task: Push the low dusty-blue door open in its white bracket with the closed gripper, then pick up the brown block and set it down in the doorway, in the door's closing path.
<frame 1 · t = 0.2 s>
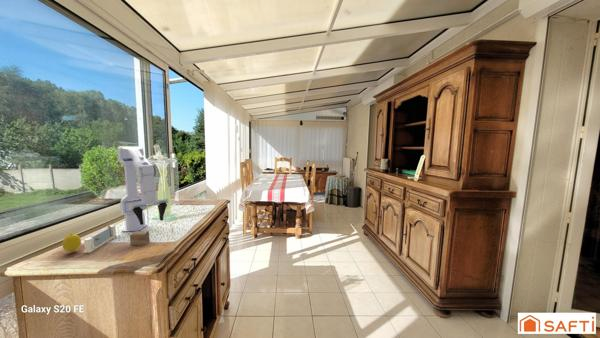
hand: (152, 222, 102), 11 cm above the sideboard, tool pointing down, fingers open, 7 cm apart
brown block: (140, 243, 105), on the sideboard
lemon: (72, 252, 96), on the sideboard
door: (102, 235, 105), point 3 cm above the sideboard, hinge at 0.0°
white bracket: (110, 238, 111), on the sideboard
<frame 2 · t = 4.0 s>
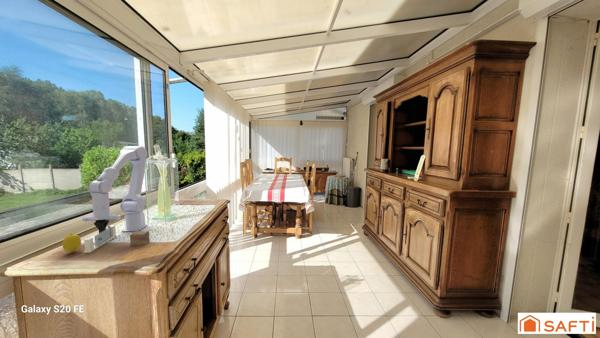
hand: (103, 235, 107), 3 cm above the sideboard, tool pointing down, fingers closed, pressing on door
door: (104, 235, 106), point 3 cm above the sideboard, hinge at 6.5°, touching gripper
everything else where it was.
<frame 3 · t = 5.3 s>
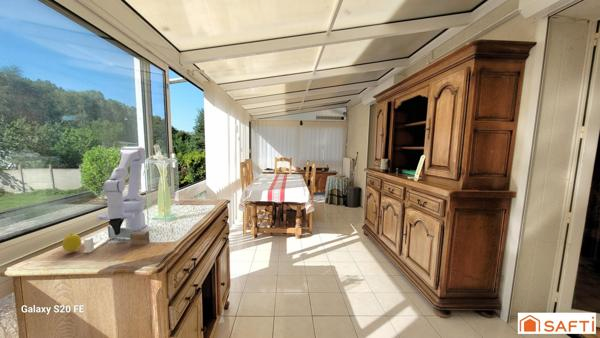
hand: (117, 234, 108), 3 cm above the sideboard, tool pointing down, fingers closed, pressing on door
door: (120, 231, 111), point 3 cm above the sideboard, hinge at 72.6°, touching gripper
everything else where it was.
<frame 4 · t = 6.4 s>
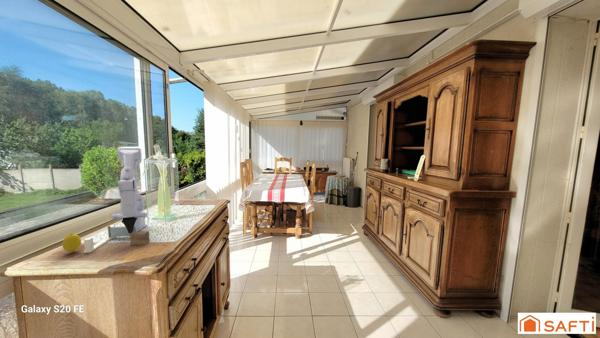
hand: (130, 232, 110), 3 cm above the sideboard, tool pointing down, fingers closed, pressing on door
door: (122, 230, 112), point 3 cm above the sideboard, hinge at 87.6°, touching gripper
everything else where it was.
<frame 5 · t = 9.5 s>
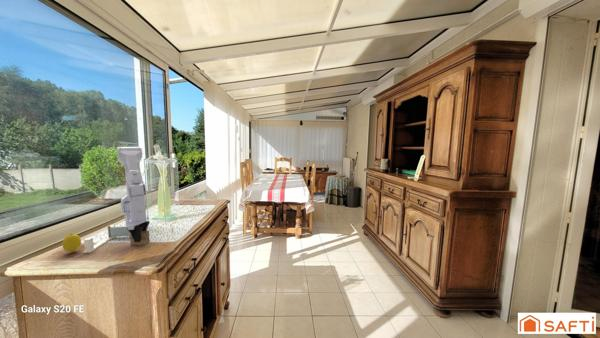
hand: (140, 239, 105), 2 cm above the sideboard, tool pointing down, fingers closed on brown block, 4 cm apart
brown block: (140, 243, 105), on the sideboard, touching gripper
door: (123, 230, 112), point 3 cm above the sideboard, hinge at 88.2°
everything else where it was.
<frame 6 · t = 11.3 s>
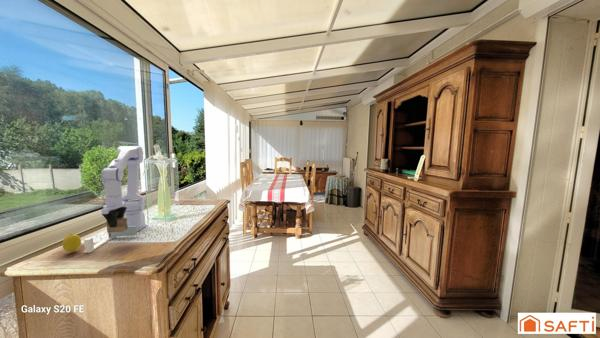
hand: (116, 225, 103), 9 cm above the sideboard, tool pointing down, fingers closed on brown block, 4 cm apart
brown block: (117, 230, 103), point 7 cm above the sideboard, touching gripper
everything else where it was.
when the fingers open (3 cm above the sideboard, at t = 13.0 s): brown block stays where it is, on the sideboard.
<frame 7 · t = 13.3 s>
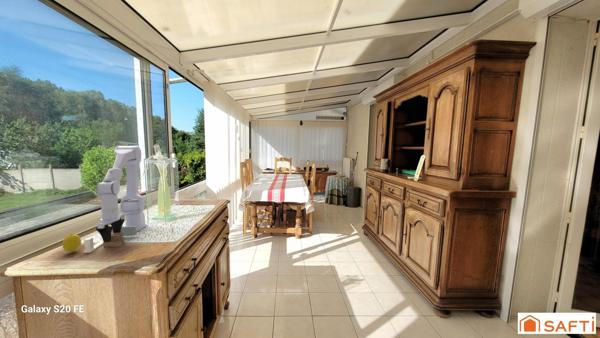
hand: (112, 238, 103), 3 cm above the sideboard, tool pointing down, fingers open, 7 cm apart
brown block: (114, 245, 104), on the sideboard
everything else where it was.
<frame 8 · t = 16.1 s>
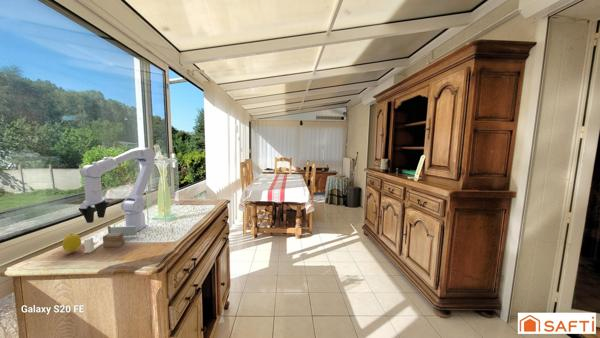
hand: (95, 219, 107), 10 cm above the sideboard, tool pointing down, fingers open, 7 cm apart
nothing on the sideboard moved.
at the end: door at +88° (first picture: +0°); brown block inside the target area (0.2 cm from its centre), on the sideboard; the gripper is holding nothing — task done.
